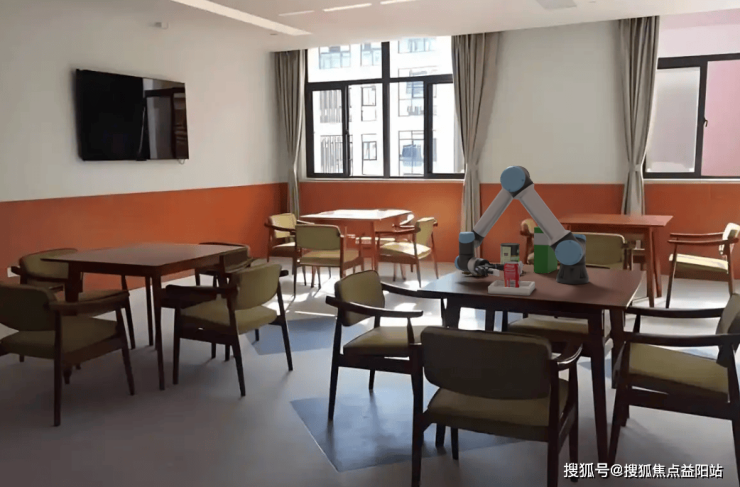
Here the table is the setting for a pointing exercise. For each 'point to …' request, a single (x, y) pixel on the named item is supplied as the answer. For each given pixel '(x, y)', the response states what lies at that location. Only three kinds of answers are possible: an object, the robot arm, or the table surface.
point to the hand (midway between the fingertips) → (510, 271)
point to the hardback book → (543, 253)
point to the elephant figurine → (520, 264)
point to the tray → (511, 288)
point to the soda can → (511, 274)
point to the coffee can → (509, 252)
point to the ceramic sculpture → (470, 273)
